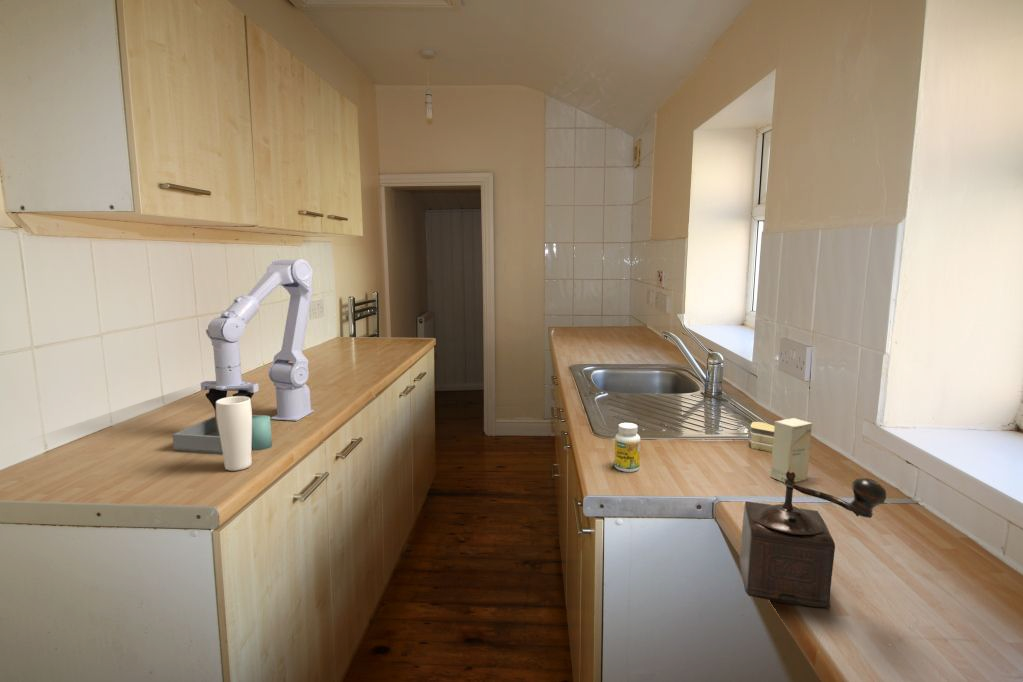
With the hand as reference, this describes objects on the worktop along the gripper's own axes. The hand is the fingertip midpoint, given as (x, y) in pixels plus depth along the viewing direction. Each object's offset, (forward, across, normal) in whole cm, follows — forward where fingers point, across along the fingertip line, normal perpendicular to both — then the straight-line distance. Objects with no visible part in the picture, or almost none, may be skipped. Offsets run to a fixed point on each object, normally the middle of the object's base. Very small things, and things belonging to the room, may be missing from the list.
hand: (232, 418), depth 139 cm
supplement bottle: (+5, +98, -4) cm, 98 cm away
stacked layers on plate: (+5, +130, +14) cm, 131 cm away
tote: (+4, 0, -4) cm, 6 cm away
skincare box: (+5, +130, -4) cm, 131 cm away
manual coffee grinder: (+5, +120, -44) cm, 128 cm away
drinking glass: (+5, +14, -18) cm, 24 cm away
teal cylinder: (+4, +12, -6) cm, 14 cm away
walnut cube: (+2, 0, 0) cm, 2 cm away
